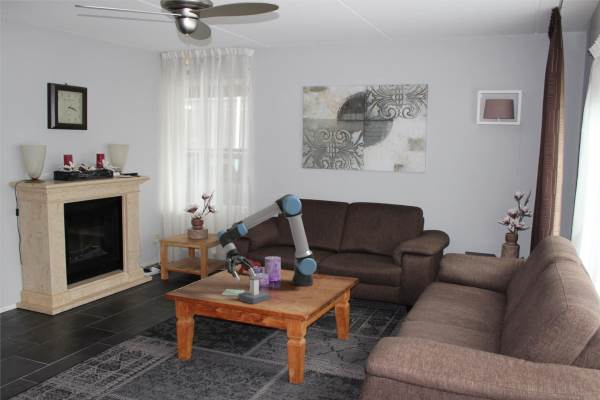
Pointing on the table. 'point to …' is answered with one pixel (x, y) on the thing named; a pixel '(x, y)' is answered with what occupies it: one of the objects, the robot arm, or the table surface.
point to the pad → (232, 292)
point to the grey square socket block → (254, 297)
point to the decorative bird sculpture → (247, 268)
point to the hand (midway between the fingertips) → (246, 279)
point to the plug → (254, 285)
